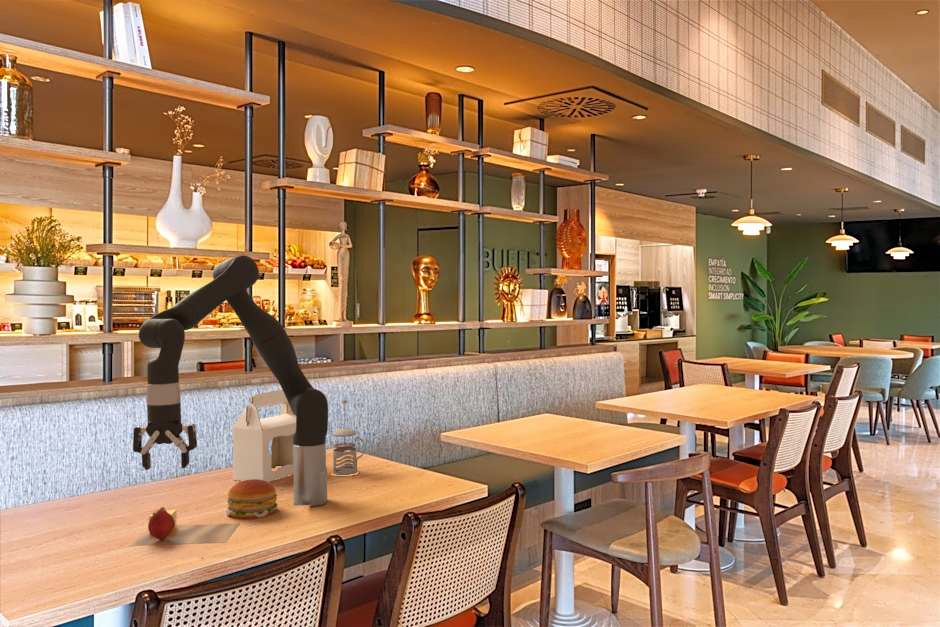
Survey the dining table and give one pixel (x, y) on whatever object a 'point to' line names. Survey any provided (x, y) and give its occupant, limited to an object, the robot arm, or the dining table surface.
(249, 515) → the burger
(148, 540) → the board
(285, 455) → the gable box
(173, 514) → the yellow cube
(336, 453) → the french press
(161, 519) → the onion
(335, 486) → the dining table surface
